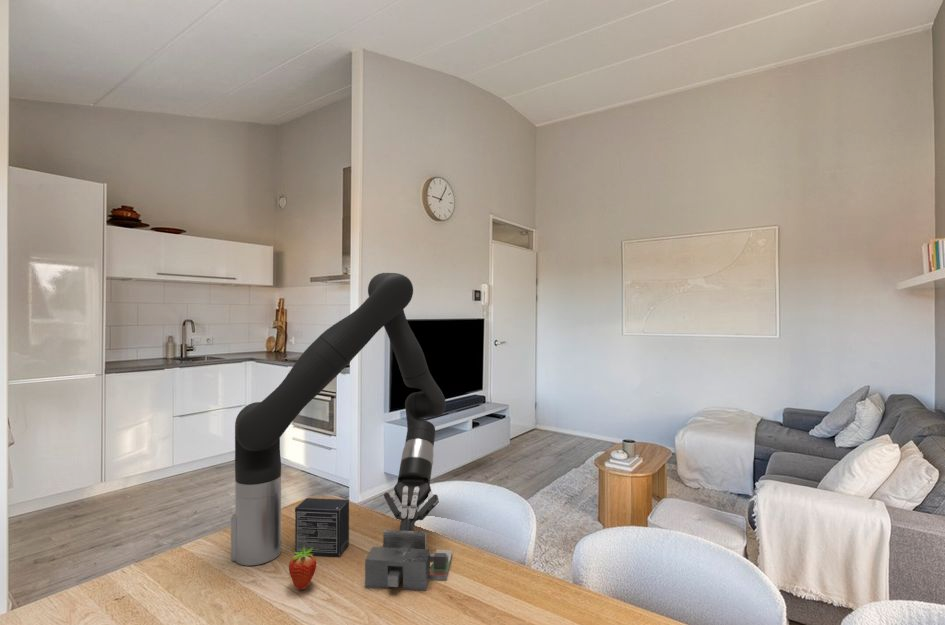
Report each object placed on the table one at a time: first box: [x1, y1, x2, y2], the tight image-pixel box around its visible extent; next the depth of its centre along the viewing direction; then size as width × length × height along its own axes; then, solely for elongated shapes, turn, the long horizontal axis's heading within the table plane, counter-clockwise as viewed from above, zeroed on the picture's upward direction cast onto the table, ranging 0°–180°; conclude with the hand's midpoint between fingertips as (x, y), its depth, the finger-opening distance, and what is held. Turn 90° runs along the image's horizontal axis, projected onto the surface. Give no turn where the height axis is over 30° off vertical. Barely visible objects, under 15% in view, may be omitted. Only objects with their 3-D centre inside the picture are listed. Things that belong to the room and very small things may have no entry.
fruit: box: [288, 546, 317, 591], centre depth 93 cm, size 5×5×8 cm
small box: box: [294, 497, 350, 558], centre depth 108 cm, size 11×6×10 cm, turn 84°
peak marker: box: [433, 552, 446, 568], centre depth 100 cm, size 2×2×2 cm, turn 86°
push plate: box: [382, 529, 449, 588], centre depth 96 cm, size 14×11×7 cm
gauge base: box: [364, 546, 453, 592], centre depth 100 cm, size 16×14×6 cm
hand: (405, 538), depth 102 cm, fingers closed
